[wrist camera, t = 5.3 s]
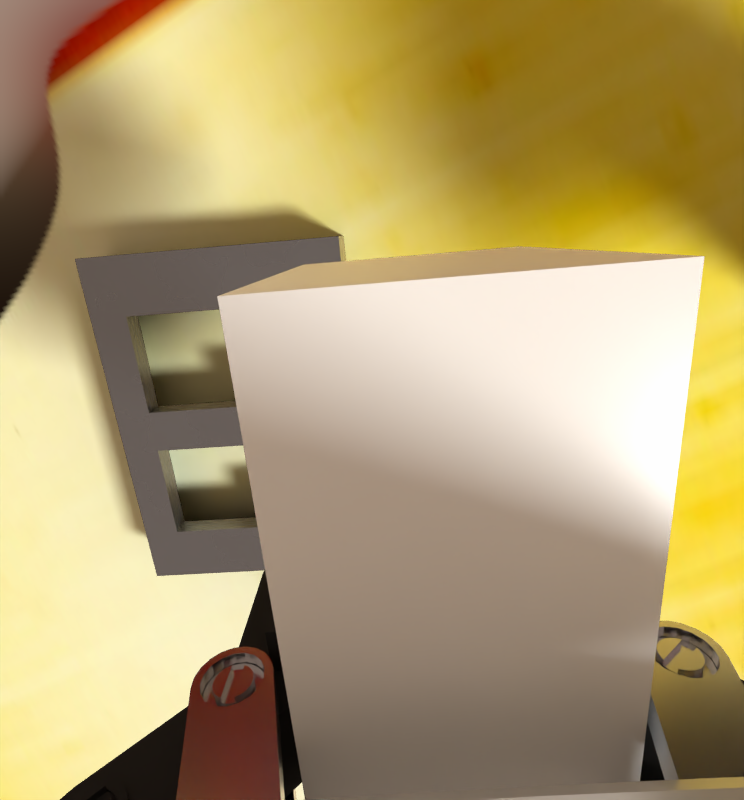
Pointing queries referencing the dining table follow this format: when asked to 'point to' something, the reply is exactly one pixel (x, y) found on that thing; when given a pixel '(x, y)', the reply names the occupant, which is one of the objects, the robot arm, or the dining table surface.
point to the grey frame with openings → (189, 423)
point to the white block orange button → (465, 507)
